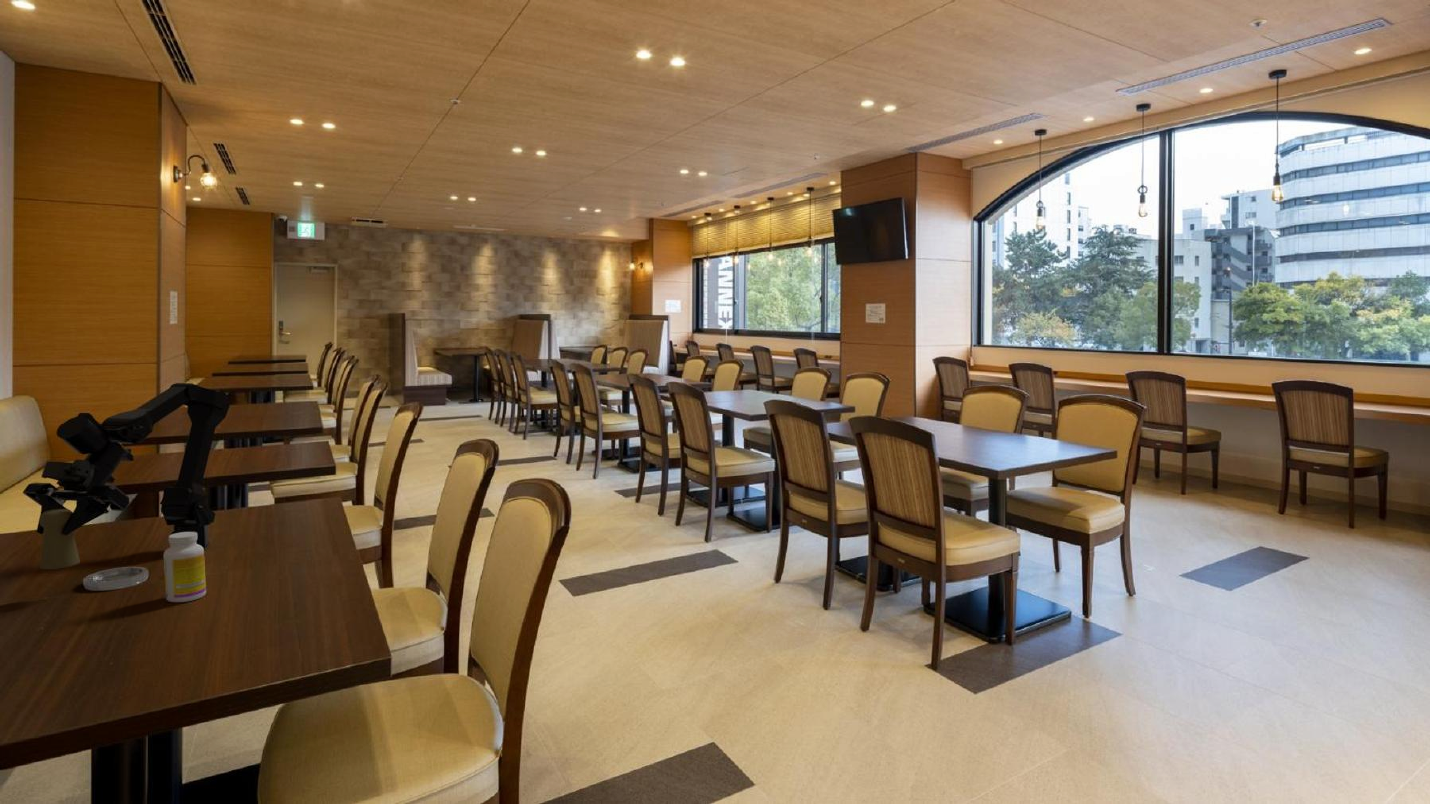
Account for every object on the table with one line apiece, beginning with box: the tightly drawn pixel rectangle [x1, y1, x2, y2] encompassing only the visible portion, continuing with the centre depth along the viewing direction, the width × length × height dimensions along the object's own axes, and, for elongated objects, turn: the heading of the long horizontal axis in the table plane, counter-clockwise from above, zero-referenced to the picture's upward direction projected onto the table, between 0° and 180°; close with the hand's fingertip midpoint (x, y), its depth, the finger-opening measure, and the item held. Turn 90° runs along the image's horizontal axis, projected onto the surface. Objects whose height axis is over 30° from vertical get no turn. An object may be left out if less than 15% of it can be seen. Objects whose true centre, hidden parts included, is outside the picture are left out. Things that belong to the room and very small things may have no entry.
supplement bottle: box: [163, 532, 207, 603], centre depth 151 cm, size 7×7×13 cm
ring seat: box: [82, 566, 149, 592], centre depth 160 cm, size 10×10×2 cm
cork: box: [38, 508, 81, 570], centre depth 150 cm, size 6×6×11 cm
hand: (51, 533), depth 149 cm, fingers closed on cork, 5 cm apart
